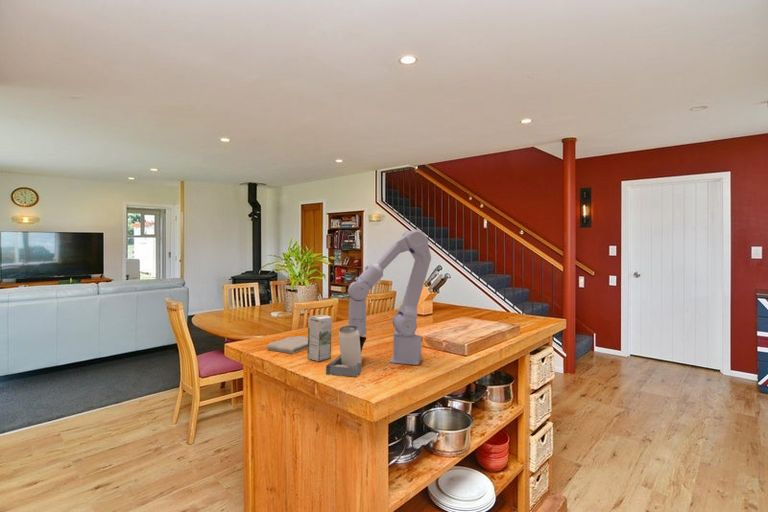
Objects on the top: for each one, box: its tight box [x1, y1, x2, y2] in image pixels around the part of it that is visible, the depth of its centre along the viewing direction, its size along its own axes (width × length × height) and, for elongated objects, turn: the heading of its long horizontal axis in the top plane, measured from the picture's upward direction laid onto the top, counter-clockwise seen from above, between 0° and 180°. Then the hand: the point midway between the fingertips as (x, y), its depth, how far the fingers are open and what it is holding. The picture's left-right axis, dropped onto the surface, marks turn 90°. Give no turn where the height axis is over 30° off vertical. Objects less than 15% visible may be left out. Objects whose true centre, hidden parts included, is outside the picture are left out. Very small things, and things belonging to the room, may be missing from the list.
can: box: [338, 325, 362, 367], centre depth 124 cm, size 6×6×12 cm
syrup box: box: [306, 314, 333, 362], centre depth 133 cm, size 6×6×14 cm
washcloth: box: [266, 335, 308, 355], centre depth 148 cm, size 12×18×3 cm, turn 154°
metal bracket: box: [325, 354, 363, 378], centre depth 125 cm, size 9×20×3 cm, turn 166°
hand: (356, 359), depth 129 cm, fingers closed, pressing on can
